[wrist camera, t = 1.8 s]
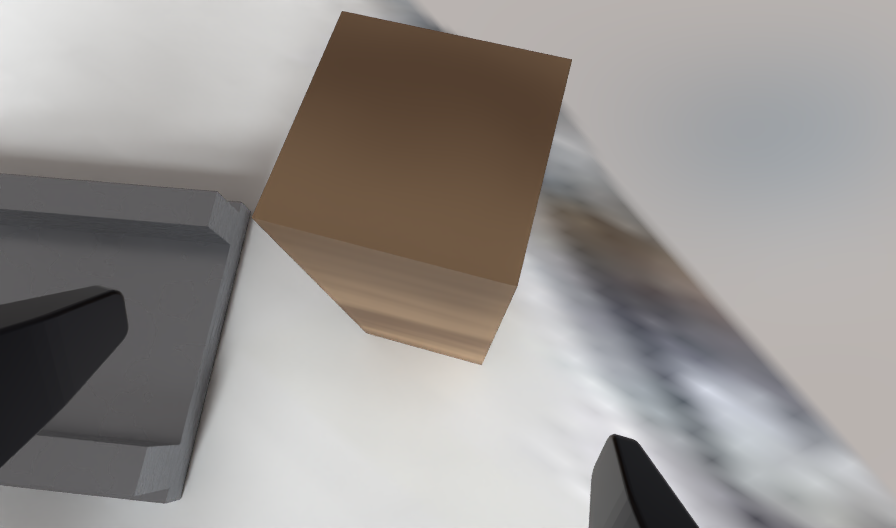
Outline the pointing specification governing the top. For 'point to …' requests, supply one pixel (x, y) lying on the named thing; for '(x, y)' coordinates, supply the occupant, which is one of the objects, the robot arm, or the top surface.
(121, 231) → the bottom track
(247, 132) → the top surface
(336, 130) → the walnut block
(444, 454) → the top surface
